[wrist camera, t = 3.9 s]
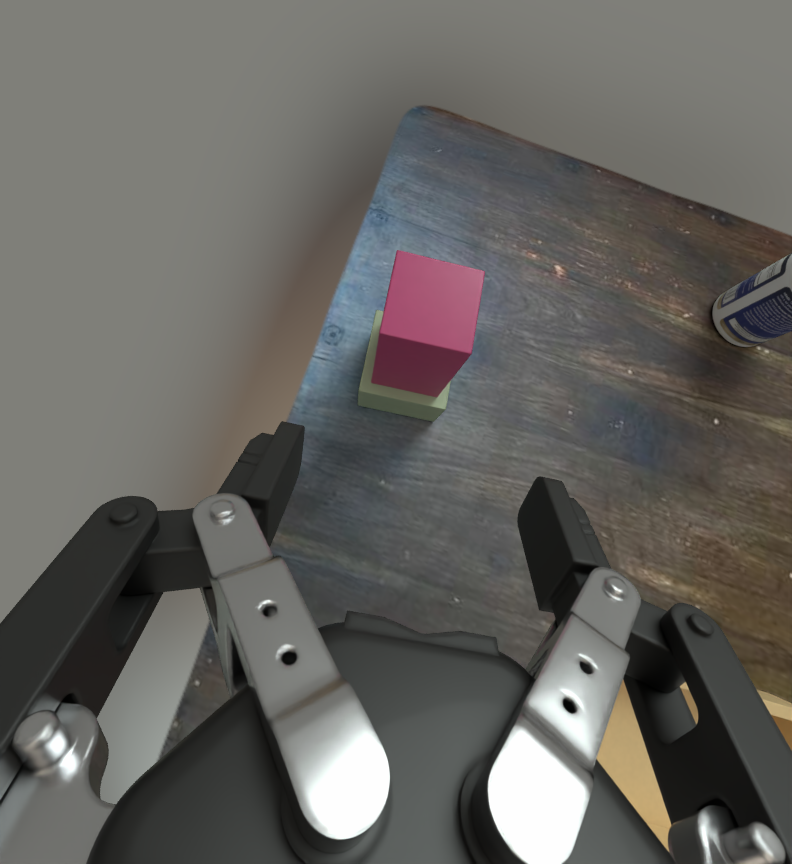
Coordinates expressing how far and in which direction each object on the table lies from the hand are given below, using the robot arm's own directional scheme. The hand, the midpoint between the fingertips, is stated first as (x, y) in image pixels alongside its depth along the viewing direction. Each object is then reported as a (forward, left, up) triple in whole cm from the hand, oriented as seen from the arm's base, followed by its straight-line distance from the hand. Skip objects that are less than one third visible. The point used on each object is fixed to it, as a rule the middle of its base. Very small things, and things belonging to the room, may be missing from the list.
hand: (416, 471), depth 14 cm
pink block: (+4, +8, -13) cm, 15 cm away
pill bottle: (+34, +7, -17) cm, 39 cm away
